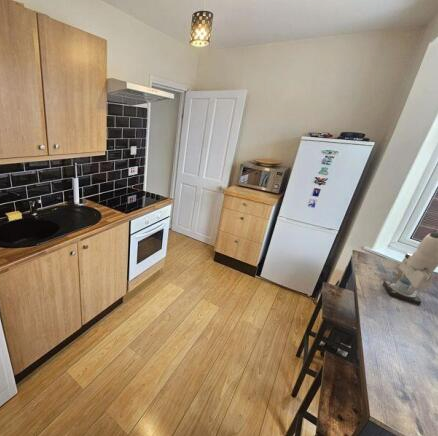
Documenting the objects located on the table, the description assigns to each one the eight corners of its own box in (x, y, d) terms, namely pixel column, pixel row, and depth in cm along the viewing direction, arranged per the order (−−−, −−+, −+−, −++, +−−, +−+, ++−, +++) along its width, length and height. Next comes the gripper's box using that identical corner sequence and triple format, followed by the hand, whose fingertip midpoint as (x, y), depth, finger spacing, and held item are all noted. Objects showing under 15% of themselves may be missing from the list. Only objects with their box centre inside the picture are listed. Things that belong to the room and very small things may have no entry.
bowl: (409, 288, 119) (414, 281, 117) (414, 296, 113) (420, 289, 111) (391, 283, 121) (396, 276, 120) (396, 291, 116) (401, 284, 114)
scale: (409, 292, 121) (412, 288, 119) (419, 305, 112) (422, 301, 111) (382, 284, 125) (385, 279, 124) (389, 296, 116) (392, 291, 115)
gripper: (442, 277, 101) (424, 301, 107) (421, 256, 117) (405, 277, 123) (423, 272, 103) (405, 295, 109) (404, 252, 120) (390, 273, 126)
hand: (405, 286), depth 116 cm, fingers closed on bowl, 7 cm apart
